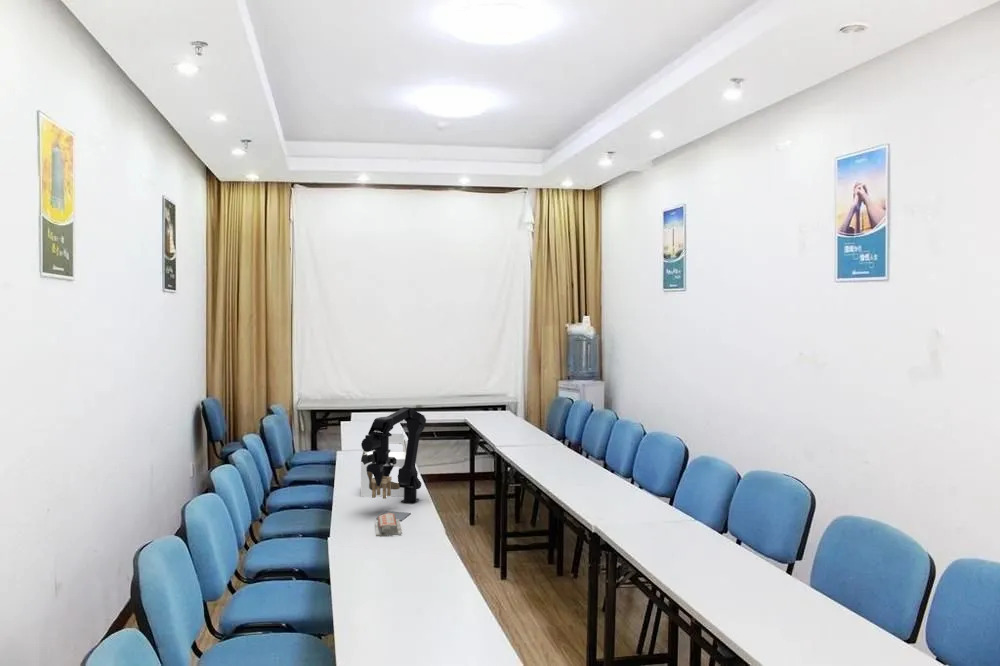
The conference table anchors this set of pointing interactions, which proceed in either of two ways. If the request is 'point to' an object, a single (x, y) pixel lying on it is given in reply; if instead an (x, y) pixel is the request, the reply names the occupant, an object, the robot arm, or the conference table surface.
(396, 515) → the mat
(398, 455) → the gable box
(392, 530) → the packaged product
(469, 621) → the conference table surface
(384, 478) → the stool
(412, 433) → the robot arm
